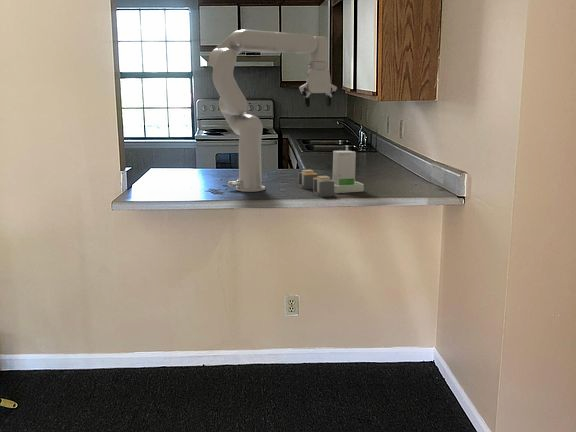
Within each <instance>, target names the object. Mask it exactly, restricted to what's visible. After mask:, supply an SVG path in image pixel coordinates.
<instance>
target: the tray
mask: <svg viewBox="0 0 576 432" xmlns="http://www.w3.org/2000/svg"><path fill="white" fill-rule="evenodd" d="M330 181H332V179H330ZM364 189H365V184H364V183H362V182H359V181H356V180H355V184H354V185H339V186H337V185H335V184H334V194H341V193H342V194H345V193H356V192H357V193H359V192H364Z"/></svg>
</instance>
